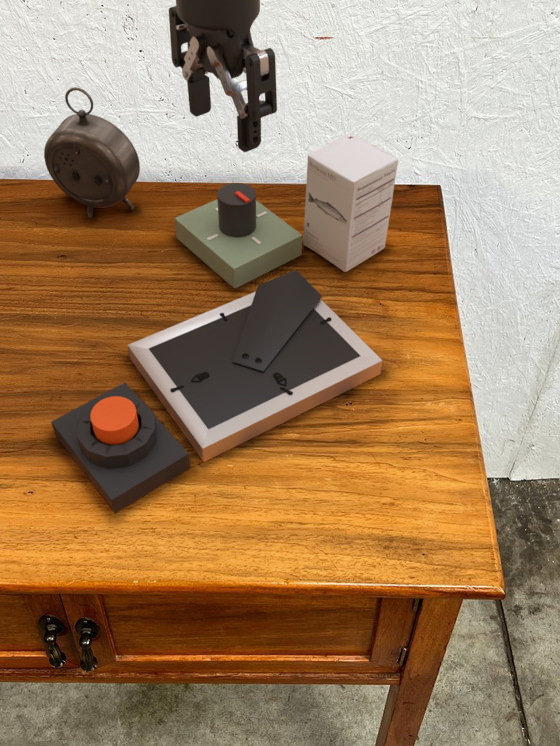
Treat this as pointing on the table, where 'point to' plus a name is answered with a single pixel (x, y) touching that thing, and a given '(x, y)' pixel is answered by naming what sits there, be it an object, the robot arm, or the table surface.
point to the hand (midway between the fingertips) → (224, 130)
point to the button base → (122, 452)
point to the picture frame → (252, 364)
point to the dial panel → (238, 243)
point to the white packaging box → (348, 200)
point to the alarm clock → (92, 159)
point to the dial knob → (237, 209)
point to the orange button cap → (114, 420)
